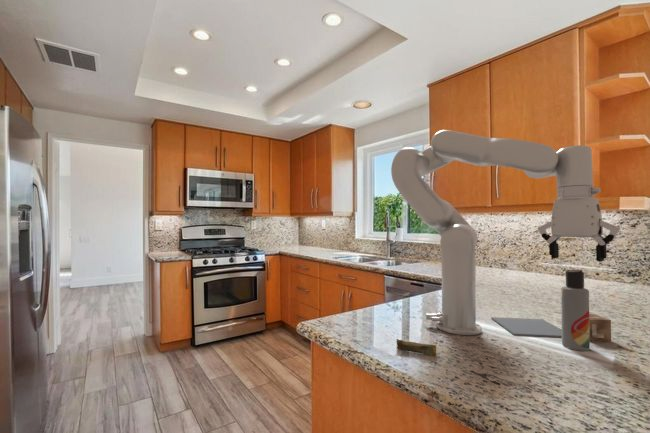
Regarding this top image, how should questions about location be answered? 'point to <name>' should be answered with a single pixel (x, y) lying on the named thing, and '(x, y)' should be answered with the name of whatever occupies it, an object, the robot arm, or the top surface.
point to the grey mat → (528, 327)
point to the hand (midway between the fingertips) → (576, 259)
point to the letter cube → (599, 328)
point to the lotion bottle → (575, 312)
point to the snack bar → (416, 347)
